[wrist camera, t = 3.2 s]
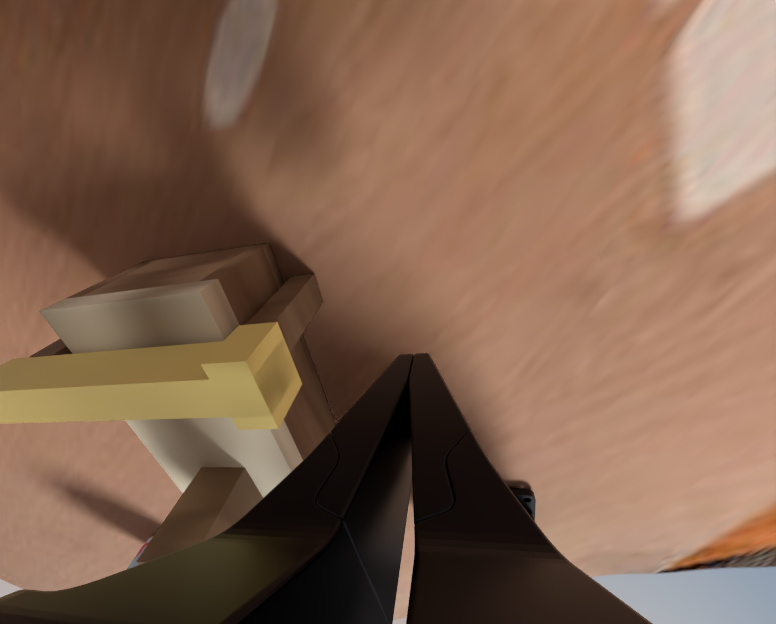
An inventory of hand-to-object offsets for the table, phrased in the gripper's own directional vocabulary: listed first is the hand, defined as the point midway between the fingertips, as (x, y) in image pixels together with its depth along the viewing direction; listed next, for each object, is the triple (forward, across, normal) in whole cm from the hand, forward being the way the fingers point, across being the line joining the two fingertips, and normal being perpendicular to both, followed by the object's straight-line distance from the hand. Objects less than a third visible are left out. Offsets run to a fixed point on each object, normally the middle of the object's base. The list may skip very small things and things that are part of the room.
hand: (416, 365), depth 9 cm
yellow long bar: (+1, +10, 0) cm, 10 cm away
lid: (+2, +10, +4) cm, 11 cm away
